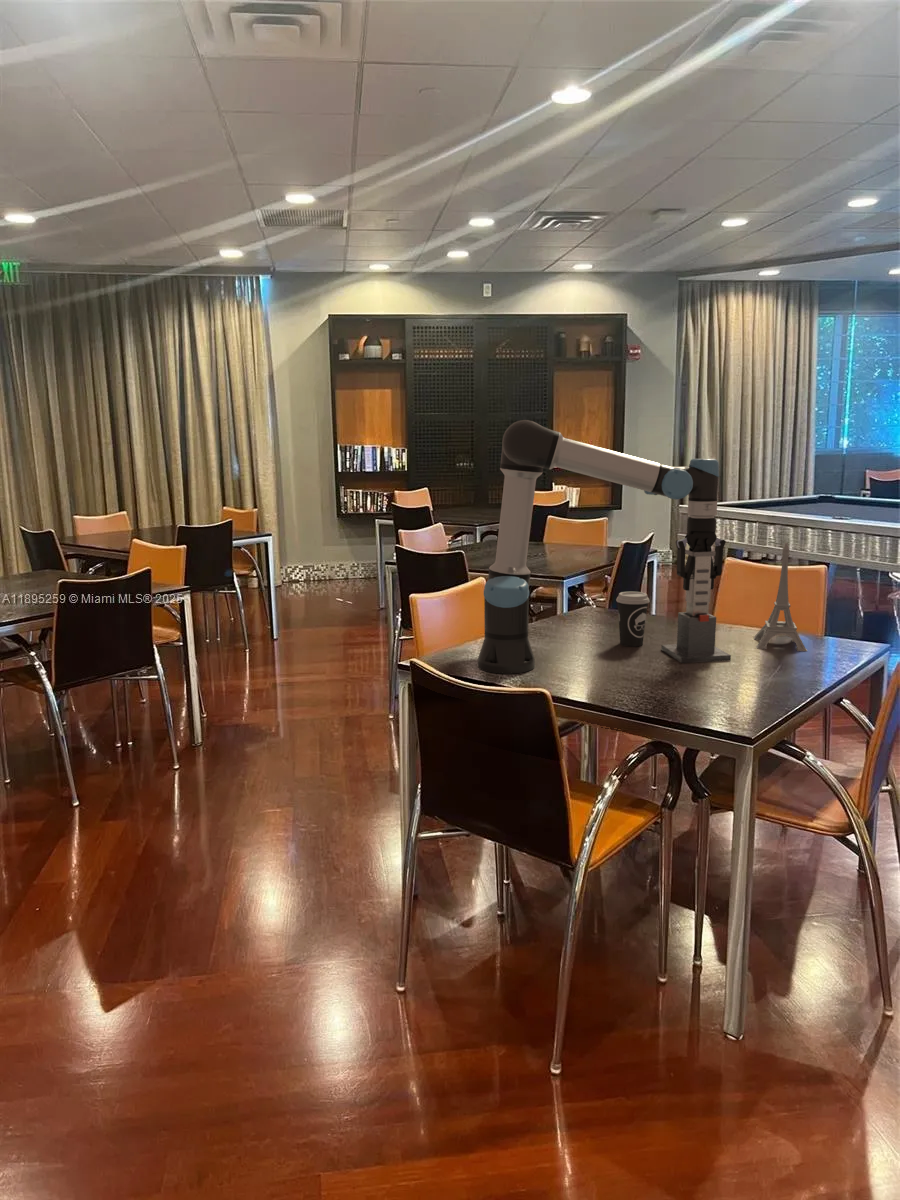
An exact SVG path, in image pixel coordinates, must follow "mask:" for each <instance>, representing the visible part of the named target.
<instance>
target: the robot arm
mask: <svg viewBox="0 0 900 1200" xmlns="http://www.w3.org/2000/svg"><path fill="white" fill-rule="evenodd" d="M501 444H502V447H501V457H500V467H499V469H500V471H501V472H502V473H503V475H504V479H503V490H502V498H501V499H502V500H501V506H500V515H499V516H500V517H499V526H498V533H497V534H498V535H497V543H496V551H495V552H496V553H495V560H494V563H492V564H491V565H490V566H489V568H488V575H487V576H488V577H487V581H486V582H485V583H484V589H483V598H484V600H483V601H484V607H483V608H484V610H483V611H484V617H483V618H484V637H483V642H482V645H481V647H480V648H481V649H480V652H479V653H478V656H477V657H478V658H477V667H478V668H479V669H480V670H482V671H485V672H488V673H494V674H506V675H509V674H511V675H512V674H520V673H521V674H523V673H526V672H529V671H532V670H533V669H535V665H536V664H535V663H536V661H535V658H536V657H535V656H534V653H533V648H532V646H531V644H530V640H529V607H530V606H529V601H530V600H529V597H530V589H529V588H530V582H531V573H532V572H531V570H530V569H529V568H528V566H527V559H528V553H529V552H528V551H529V544H530V543H529V542H530V534H531V528H532V527H531V525H532V519H533V517H532V516H533V509H534V499H535V493H536V485H537V484H536V483H537V479H538V478H539V477H541V475H542V474H543V472H544V469H547V470H552V469H554V468H558V469H562V470H566V471H570V472H572V473H577V474H580V475H585V476H588V477H592V478H596V479H599V480H603V481H607V482H612V483H615V484H618V485H622V486H626V487H630V488H633V489H637V490H641V491H643V492H644V493H645V494H646V495H649V496H650V495H652V496H658V495H659V496H662V497H667V499H671V500H680V499H684V498H686V497H688V500H687V501H688V503H687V515H688V517H687V521H686V531H687V532H686V534H685V537H684V538H682V539H677V540H675V545H676V548H677V551H676V552H677V553H676V554H677V556H676V575H677V576H678V577H681V578H682V580H683V583H682V584H683V585H682V589H683V590H684V591H685V598H684V599H685V602H686V603H687V602H689V603H692V595H693V579H691V574H692V570H693V567H694V557H693V556H690V555H687V559H686V554H685V549H686V547H687V545H688V546H689V548H688V549H689V550H693V551H694V552H698V551H713V550H712V546H713V545H714V551H715V552H716V554H715V556H711V570H710V589H709V603H710V602H711V591H712V590H714V587H715V586H714V585H715V584H714V583H715V579H716V578H717V577H718V576H721V575H722V570H723V558H724V548H725V545H726V543H727V541H726V540H725V539H722V538H719V537H717V535H716V530H717V517H716V516H717V513H718V491H719V481H720V480H719V479H720V469H719V468H720V463H719V461H718V459H716V458H692V459H690V461H689V464H688V465H686V466H670V465H666V464H663V463H659V462H655V461H652V460H647V459H645V458H641V457H637V456H633V455H630V454H626V453H623V452H622V453H621V452H618V451H615V450H611V449H607V448H604V447H600V446H597V445H592V444H589V443H585V442H582V441H578V440H574V439H571V438H565V437H564V436H563V434H562V433H561V432H560V431H556V430H553V429H550V428H548V427H545V426H542V424H541V425H540V424H539V423H537V422H535V421H533V420H528V419H523V420H521V419H520V420H517V421H515V422H513V423H511V424H510V425H509V426H508V427H507V428H506V430H505V431H504V433H503V436H502V443H501ZM713 558H714V560H713Z"/></svg>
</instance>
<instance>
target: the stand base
mask: <svg viewBox="0 0 900 1200" xmlns="http://www.w3.org/2000/svg"><path fill="white" fill-rule="evenodd" d="M677 614H678V616H677V630H676V631H677V635H676V643H673V644H670V643H669V644H661V648H660V650H661V651H662V652H664V653H665V654H666V655H669V656H670V657H671V658H673V659H675V660H676V661H678V662H679V663H681V664H688V663H708V662H728V661H729V662H730V661H731V659H732V655H731V654H730V653H728V652H726V651H724V650H723V649H720V648H718V647H717V646H716V631H717V630H716V627H717V617H716V616H714V615H713V614H710V613H709V612H708V615H699V617H693V618H691V617H689V616H687V615H686V611H685V612H683V611H682V612H677Z"/></svg>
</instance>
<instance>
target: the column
mask: <svg viewBox="0 0 900 1200" xmlns="http://www.w3.org/2000/svg"><path fill="white" fill-rule="evenodd" d="M715 554H716V552H715V550H712V551H698V552H694V551H693V550H689V548H685V555H687V556H688V555H690V556H693V557H694V567H693V570H692V574H691V579H693V595H692V603H689V602H687V601H686V608H685V609H686V610H685V612H686V615H687V616H689V617H691V618H693V617H699V615H708V613H709V607H710V606H709V605H710V602H709V589H710V570H711V556H712V557H714V556H715Z"/></svg>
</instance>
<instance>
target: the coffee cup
mask: <svg viewBox="0 0 900 1200" xmlns="http://www.w3.org/2000/svg"><path fill="white" fill-rule="evenodd" d="M615 600H616V602H617V611H618V612H617V613H618V627H619V629H618V630H619V631H618V632H619V644H620V645H621V646H623V647H632V648H636V647H641V646H643V644H644V636H645V630H646V628H645V627H646V621H647V614H648V613H647V611H648V606H649V603H650V598H649V597H648V594H647V593H645V592H642V591H621V592H619V593H618V596H617V597H616V599H615Z"/></svg>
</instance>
